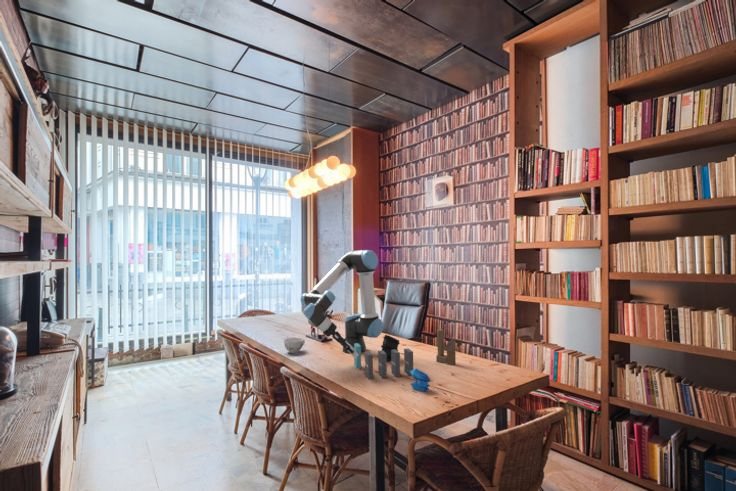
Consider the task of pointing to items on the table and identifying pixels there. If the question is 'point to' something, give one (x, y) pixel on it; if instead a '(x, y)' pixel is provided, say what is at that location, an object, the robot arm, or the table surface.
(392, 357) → the domino
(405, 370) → the domino
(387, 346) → the black angular block
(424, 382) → the crystal
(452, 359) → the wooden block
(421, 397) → the table surface
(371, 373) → the domino
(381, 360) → the domino
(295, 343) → the teacup
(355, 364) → the teal domino
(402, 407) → the table surface
